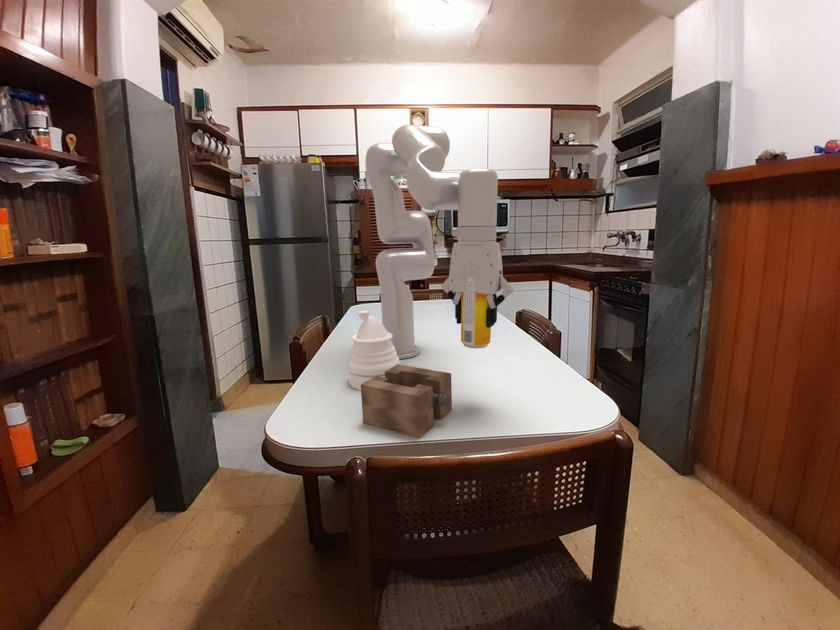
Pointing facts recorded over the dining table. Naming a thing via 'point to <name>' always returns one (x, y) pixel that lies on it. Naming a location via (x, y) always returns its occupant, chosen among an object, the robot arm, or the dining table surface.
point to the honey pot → (370, 351)
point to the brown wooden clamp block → (405, 399)
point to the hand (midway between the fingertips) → (475, 323)
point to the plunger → (439, 399)
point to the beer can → (474, 317)
